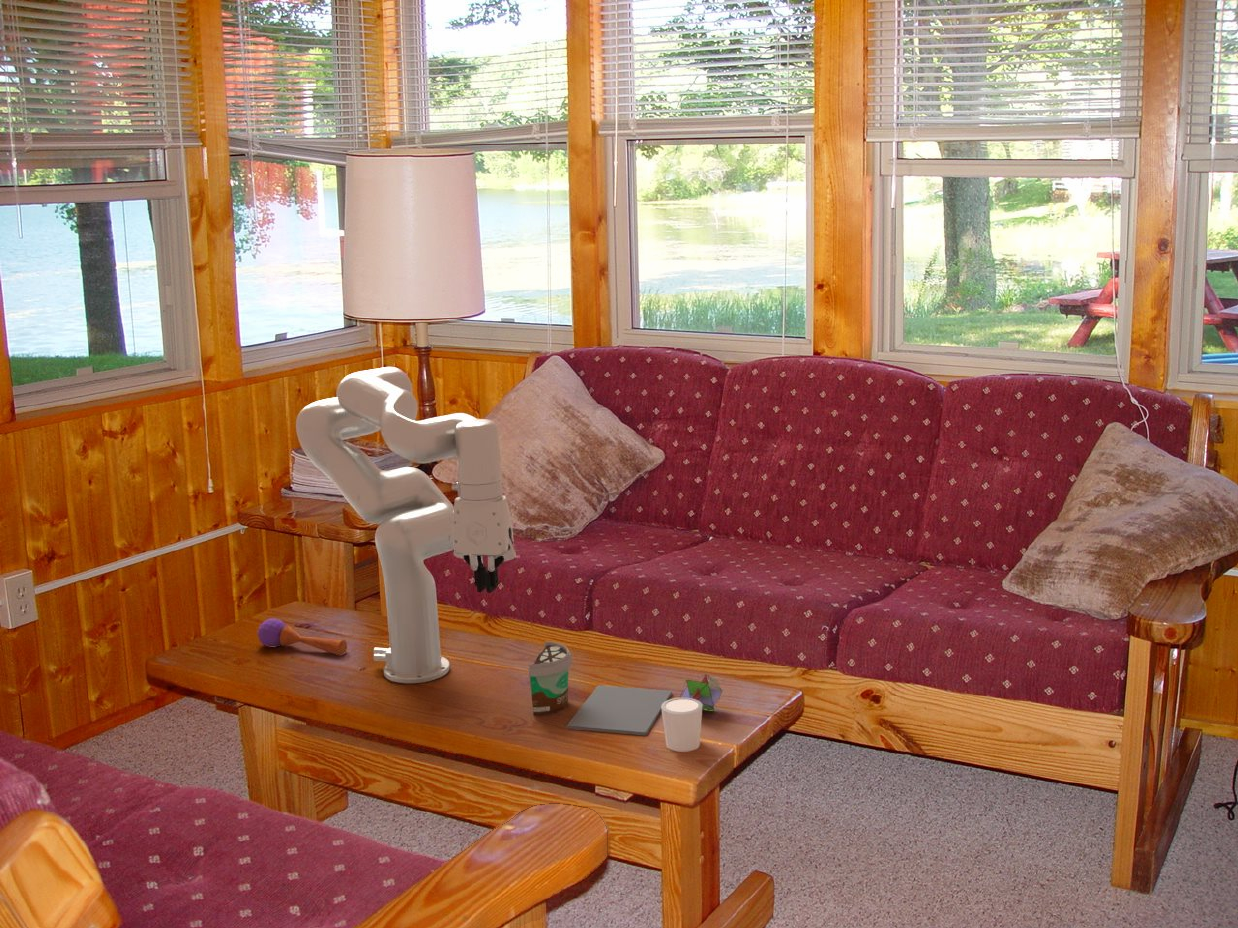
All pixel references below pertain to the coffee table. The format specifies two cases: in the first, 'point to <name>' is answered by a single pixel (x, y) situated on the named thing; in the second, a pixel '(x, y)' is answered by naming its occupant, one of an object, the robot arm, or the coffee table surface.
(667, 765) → the coffee table surface
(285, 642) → the kendama
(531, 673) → the food container
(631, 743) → the coffee table surface
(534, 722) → the coffee table surface
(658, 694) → the mat
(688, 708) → the shot glass
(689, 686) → the geometric puzzle
